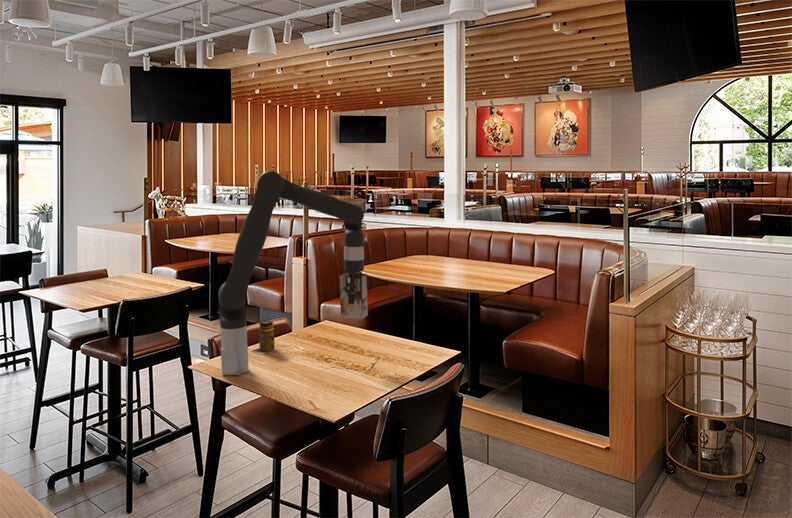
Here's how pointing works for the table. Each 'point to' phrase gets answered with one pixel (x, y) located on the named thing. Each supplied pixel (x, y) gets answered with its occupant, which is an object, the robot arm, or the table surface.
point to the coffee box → (360, 297)
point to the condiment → (266, 338)
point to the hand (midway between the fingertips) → (354, 301)
